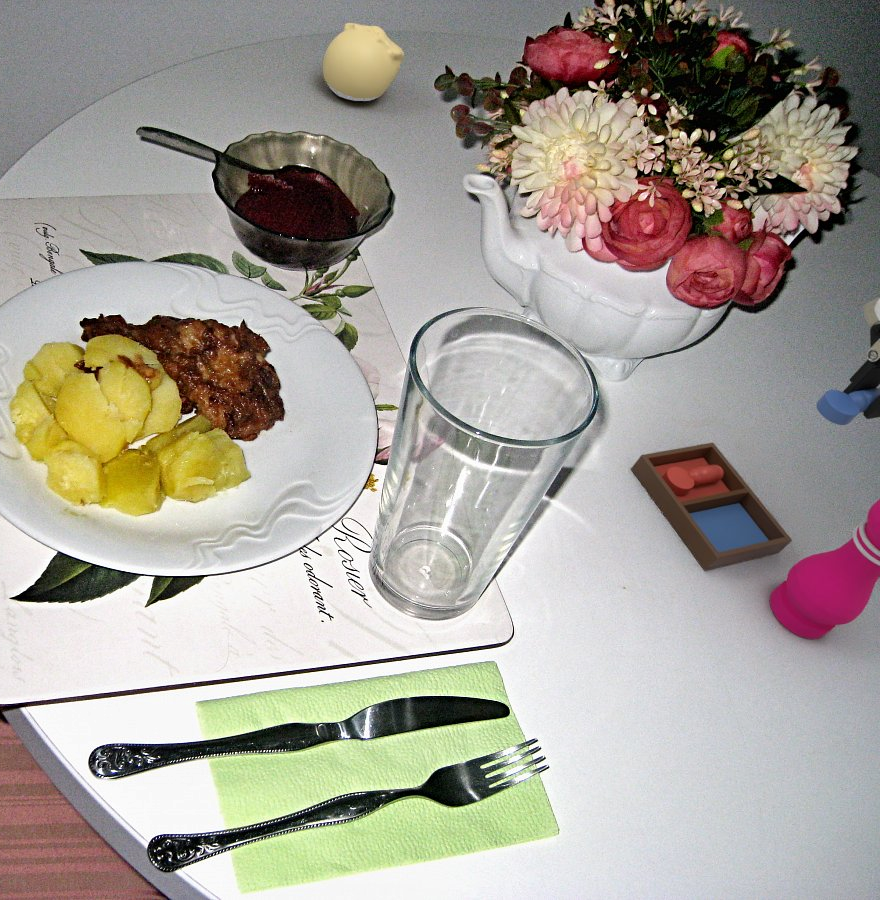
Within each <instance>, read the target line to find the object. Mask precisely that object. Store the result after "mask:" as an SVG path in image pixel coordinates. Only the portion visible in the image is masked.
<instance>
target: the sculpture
mask: <svg viewBox="0 0 880 900" xmlns="http://www.w3.org/2000/svg"><path fill="white" fill-rule="evenodd" d="M404 58H405V53H404V51H403V49H402V48H401V47H400V46H399V45H398V44H397V43H395V42H393V41H392V40H391V39H390V38H389V37H388V36H387V34H386V32H385V30H384V29H383V28H381V27H380V26H377V25H363V24H360V23H354V22H346V23H345V24H344V29H343V31H342V32H340V33H339V34H337V35H336V36H335V37H334V38H333V40H331V42H330V43H329V45H328V46H327V49H326V51H325V54H324V57H323V61H322V74H323V80H324V79H325V80H324V82H325V81H326V82H327V83H328V84H329V85H330V86H331V87H332V88H334V89H335V90H337V91H339V92H341V93H343V94H345V95H348V96H352V97H354V98H363V99H365V98H373V97H377V96H380V95H381V94H382V95H383V94H384V93H385V92H386V91H387V89H388V88H389V87H390V86H391V84H392V83H393V81H394V79H395V78H396V77H397V76H398V75H399V71H400V69H401V63H402V62H403V60H404ZM326 82H325V83H326ZM382 95H381V96H382ZM381 96H380V97H381Z"/></svg>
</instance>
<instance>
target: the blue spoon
mask: <svg viewBox="0 0 880 900" xmlns="http://www.w3.org/2000/svg"><path fill="white" fill-rule="evenodd" d="M879 395H880V387H876V388H873V389H867V390H861V391H855V392H851V393H850V394H846V393H844V392H843V391H841V390H838V389H829V390H827V391H825V392H824V394H823V395H822V396H821V397H820V398H819V399H818V401H816V410H817V412H818V413H819V415H820V416H822V417H823V418H824V419H826V420H827V421H829V422H831V423H832V424H835V425H838V426H845V425H849V424H850V423H851V422H852V421H853V420H854V419H855V418H856V417H857V416H858V415H859V414H861V413H863V412H864V411H865V410H866V409H867V408H868V406H869V405H870V404H871V403H872V402H873V401H874V400H875V399H876V398H877V397H878V396H879Z"/></svg>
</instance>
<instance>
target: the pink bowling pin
mask: <svg viewBox="0 0 880 900" xmlns="http://www.w3.org/2000/svg"><path fill="white" fill-rule="evenodd" d="M879 578H880V498H879V499H877V500H876V501H875V502H874V503H873V504H872V505H871V506H870V508H869V510H868V513H867V517H866V519H864V520H862V521H861V522H860V524H858V525H857V526H855V527H854V528H853V530H852V537H851V538H850V539H849V540H848V541H846V542H845V543H844V544H843V545H841V546H840V547H838V548H836V549H833V550H828V551H825V552H824V551H823V552H820V553H815V554H811V555H809V556H806V557H804V558H802V559H800V560H799V561H798V562H796V563H795V564H793V565H792V566H791V568H790V569H789V571H788V573H787V576H786V580H783V581H782V582H781V583H780V584H779V585H778V586H777V587H776V588H774V589H773V590H772V592H771V593H770V596H769V604H770V608H771V611H772V613H773V615H774V616H775V618H776V619H777V620H778V621H779V623H780V624H781V625H782V626H783V627H784V628H786V629H787V630H788V631H790V632H791V633H792V634H794V635H797V636H798V637H801V638H804V639H809V640H815V639H822V638H823V637H824V636H826V635H827V634H828V633H830V632H831V631H832V630H834V628H835V627H836V626H842V625H848V624H850V623H852V622H853V621H855V619H857V618H858V617H859V616H860V615H861V614H862V613H863V611H864V610H865V609H866V607H867V606H868V603H869V601H870V599H871V595H872V594H873V590H874V588H875V586H876V583H877V582H878V580H879Z"/></svg>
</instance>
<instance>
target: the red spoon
mask: <svg viewBox="0 0 880 900" xmlns="http://www.w3.org/2000/svg"><path fill="white" fill-rule="evenodd" d="M723 474H724V472H723V469H722V468H721V467H720V466H718V465H707V466H702V467H697V468H692V469H689V470H687V471H686V470H684V469H682V468H679V467H671V468H669V469H668V470H667V471H666V473H665V474H664V475H663V476H662V478H663V479H664V480H665V482H666V483H667V484H668V486H669V487H670V488H671V490H672V491H673V492H674V494H675V495H676V496H685V495H686V494H687V493H688V492H689V491H690V490H691V489H692V487H693V486H697V485H702V484H707V483H712V482H717V481H719V480H721V479H722V477H723Z"/></svg>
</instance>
